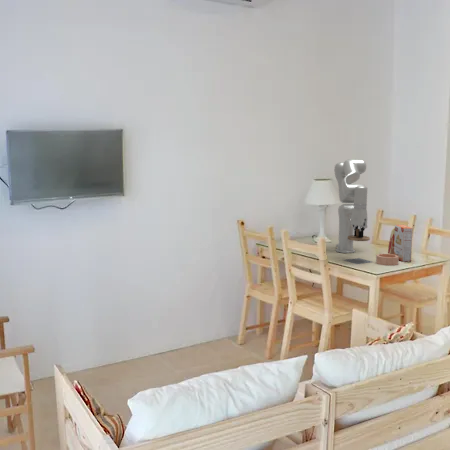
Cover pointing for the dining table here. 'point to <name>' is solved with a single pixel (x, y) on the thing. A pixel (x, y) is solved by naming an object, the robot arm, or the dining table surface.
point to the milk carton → (391, 242)
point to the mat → (357, 261)
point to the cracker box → (403, 242)
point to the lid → (358, 237)
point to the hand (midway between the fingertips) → (358, 236)
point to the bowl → (387, 259)
